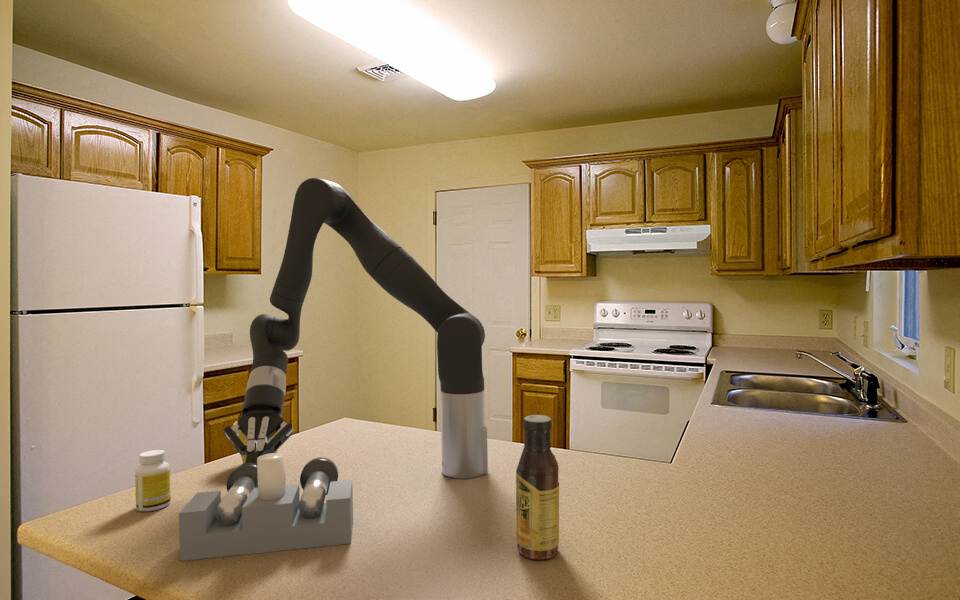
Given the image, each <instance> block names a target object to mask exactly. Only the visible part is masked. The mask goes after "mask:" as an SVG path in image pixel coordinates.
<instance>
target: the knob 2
mask: <svg viewBox="0 0 960 600" xmlns="http://www.w3.org/2000/svg"><path fill="white" fill-rule="evenodd" d="M333 481H339V470H338V467H337V465H336V463H335V462H334V461H333V460H331V459H330V458H327V457H321V456H320V457H316V458H315V457H314V458H312V459H311V460H309V461H308V462H306V463H305V465H304V466H303V468H302V470H301V473H300V476H299V485H300V488H301V489H302V490H303V491H302V494H301V497H300V498H299V500H300V502H299V511H300V512H301V514H302V515H304V516H306V517H314V516H316V515H318V514H319V513H320V512H321V510H322V508H323V504H324V503H325V501H326V497H327V495H328V491H329V487H330V482H333Z"/></svg>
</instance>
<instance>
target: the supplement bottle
mask: <svg viewBox="0 0 960 600" xmlns="http://www.w3.org/2000/svg"><path fill="white" fill-rule="evenodd" d="M138 456H139V457H138V459H139V460H138V461H139V464H140V465H138V466H137V467H136V468H135V471H134V473H135V474H134V475H135V476H134V477H135V479H134V481H135V482H134V483H135V508H136V510H137V511H139V512H153V511H158V510H161V509H163V508H165V507H168V506H169V505H170V504H171V469H170V464H169V463H168V462H166V461H165V459H166V451H165V450H163V449H155V450H154V449H152V450H148V451H144V452H141V453H140V454H139V455H138Z"/></svg>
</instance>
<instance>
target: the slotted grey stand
mask: <svg viewBox="0 0 960 600" xmlns="http://www.w3.org/2000/svg"><path fill="white" fill-rule="evenodd" d="M285 486H286V494H285V495H284V496H283V497H281V498H278V499H274V500H260V499H259V498H258V488H254V489H253V490H252V492H251V493H250V495H249V497H248V498H247V500H246V502H245V503H244V505H243V506H242V513H241V515H240V517H239V518H238V520H237V521H236V522H235V523H233V524H230V525H223V524H221V523H219V522H218V521H217V520H216V518H215V510H216V508H217V506H218V505H219V503H220V502H221V501H222V497H221V496H222V492H221V491H222V490H213V491H211V490H210V491H200V492H196V493H195V494H194V495H193V496H192V497H191V498H190V500H189V501H188V502H187V503H186V504H185V505H184V506H183V507H182V509H181V510H180V511H179V512H178V525H179V558H180V559H179V560H180V562H185V561H193V560H194V561H195V560H203V559H212V558H213V559H214V558H221V557H223V558H224V557H234V556H241V555H242V556H243V555H251V554H252V555H253V554H262V553H271V552H282V551H291V550H300V549H301V550H302V549H309V548H310V549H311V548H319V547H321V548H322V547H331V546H339V545H349V544H352V538H353V526H354V502H353V499H354V498H353V497H354V496H353V495H354V494H353V480H352V479H347V480H338V481H333V482H330V487H329V491H328V494H327V495H326V498H325V501H326V502H324V504H323V508H322V510H321V512H320V513H319V514H318V515H316V516H314V517H306V516H304V515H302V514H301V512H300V511H299V502H300V483H299V484H285Z"/></svg>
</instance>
